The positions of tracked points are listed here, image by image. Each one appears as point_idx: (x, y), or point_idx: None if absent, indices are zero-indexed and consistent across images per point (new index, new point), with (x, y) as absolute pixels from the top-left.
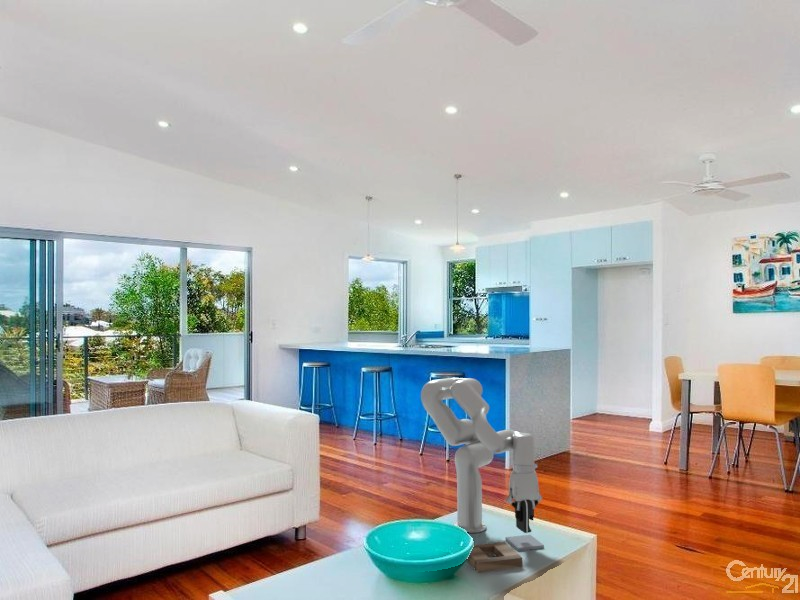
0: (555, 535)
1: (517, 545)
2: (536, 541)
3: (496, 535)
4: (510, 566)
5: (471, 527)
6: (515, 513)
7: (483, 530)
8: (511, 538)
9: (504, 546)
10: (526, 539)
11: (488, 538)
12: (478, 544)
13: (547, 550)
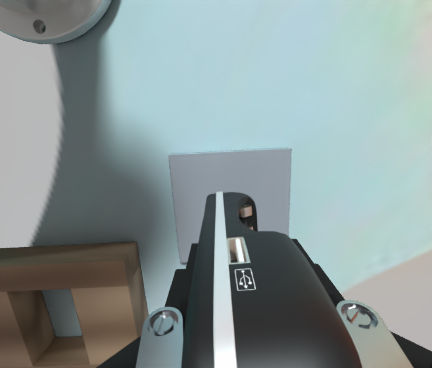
0: (404, 148)
1: (187, 241)
2: (278, 222)
3: (148, 93)
4: None
5: (14, 8)
6: (171, 294)
7: (95, 23)
8: (190, 173)
9: (109, 301)
10: (248, 195)
11: (103, 120)
12: (7, 265)
13: None
